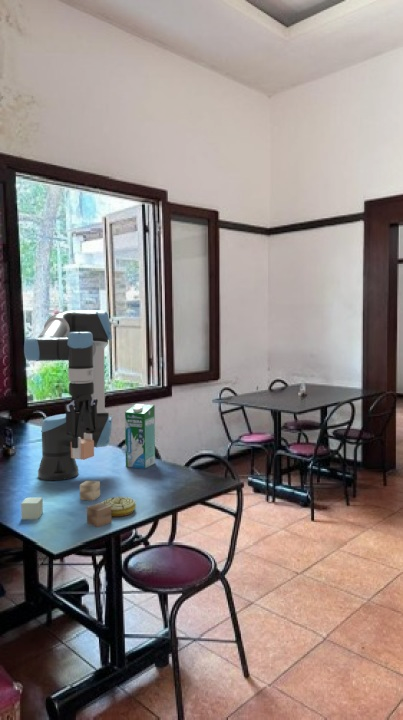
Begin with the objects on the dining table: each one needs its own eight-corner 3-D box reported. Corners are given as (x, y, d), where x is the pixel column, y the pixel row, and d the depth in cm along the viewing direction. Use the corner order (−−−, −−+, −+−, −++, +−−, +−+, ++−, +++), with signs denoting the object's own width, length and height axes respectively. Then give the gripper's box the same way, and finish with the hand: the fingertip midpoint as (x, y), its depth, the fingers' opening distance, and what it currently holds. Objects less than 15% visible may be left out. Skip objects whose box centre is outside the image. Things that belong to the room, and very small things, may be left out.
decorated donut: (111, 504, 168) (111, 493, 167) (141, 508, 164) (140, 496, 164) (94, 515, 158) (94, 503, 158) (126, 520, 154) (125, 507, 154)
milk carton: (125, 466, 211) (124, 406, 209) (136, 461, 219) (135, 403, 217) (145, 469, 207) (144, 407, 206) (155, 463, 216) (154, 404, 214)
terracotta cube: (71, 458, 159) (70, 442, 159) (81, 454, 164) (81, 438, 163) (84, 459, 157) (83, 443, 157) (94, 455, 161) (93, 440, 161)
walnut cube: (87, 523, 152) (86, 506, 151) (100, 518, 156) (100, 502, 155) (97, 527, 148) (97, 511, 148) (111, 522, 152) (111, 506, 152)
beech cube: (79, 499, 172) (79, 484, 172) (86, 494, 177) (86, 480, 177) (93, 500, 171) (93, 486, 171) (100, 495, 176) (99, 481, 175)
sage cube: (21, 519, 155) (20, 503, 155) (26, 513, 160) (26, 497, 160) (38, 519, 155) (37, 503, 155) (42, 513, 160) (42, 497, 160)
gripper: (72, 385, 149) (73, 464, 150) (108, 379, 165) (109, 450, 167) (51, 384, 152) (53, 461, 154) (89, 378, 168) (90, 448, 170)
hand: (82, 455), depth 160 cm, fingers closed on terracotta cube, 5 cm apart
